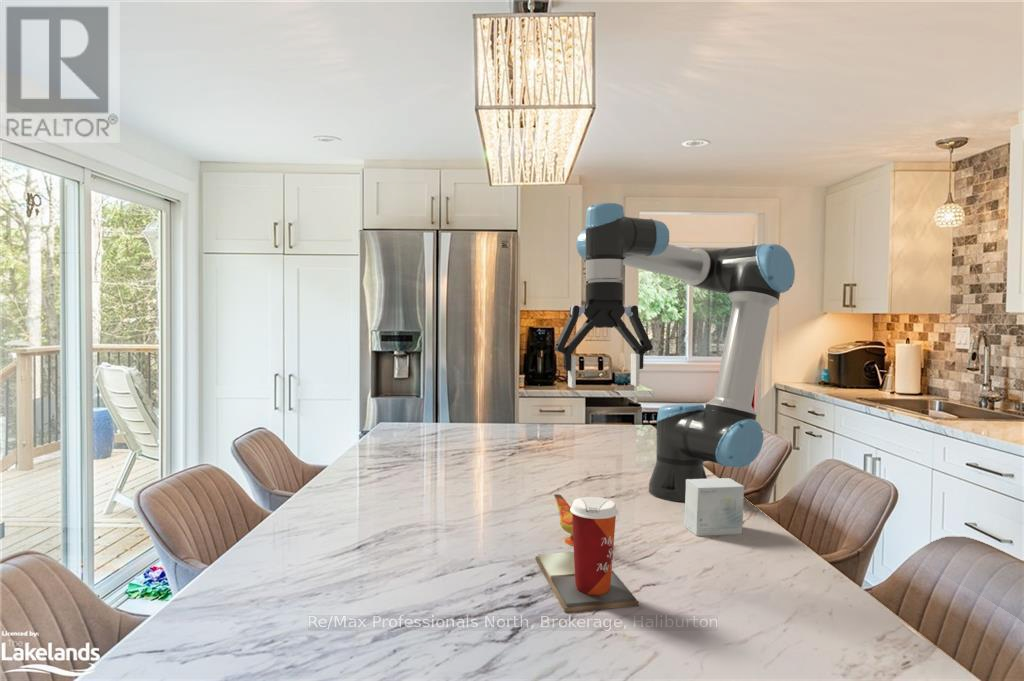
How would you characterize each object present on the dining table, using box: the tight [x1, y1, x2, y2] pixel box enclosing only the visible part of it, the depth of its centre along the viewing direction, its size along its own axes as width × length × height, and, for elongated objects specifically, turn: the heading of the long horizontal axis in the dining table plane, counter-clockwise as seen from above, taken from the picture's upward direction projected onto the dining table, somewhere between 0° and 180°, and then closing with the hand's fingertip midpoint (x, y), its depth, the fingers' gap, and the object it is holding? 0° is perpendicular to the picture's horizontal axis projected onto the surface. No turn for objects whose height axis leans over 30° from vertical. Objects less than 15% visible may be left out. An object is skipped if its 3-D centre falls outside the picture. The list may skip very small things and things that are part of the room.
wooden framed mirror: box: [535, 551, 640, 613], centre depth 102 cm, size 12×20×1 cm, turn 11°
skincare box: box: [683, 477, 745, 537], centre depth 127 cm, size 10×6×10 cm, turn 99°
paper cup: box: [570, 496, 619, 595], centre depth 97 cm, size 8×8×14 cm
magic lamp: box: [553, 493, 574, 547], centre depth 121 cm, size 7×18×11 cm, turn 20°
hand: (603, 386), depth 121 cm, fingers open, 13 cm apart
